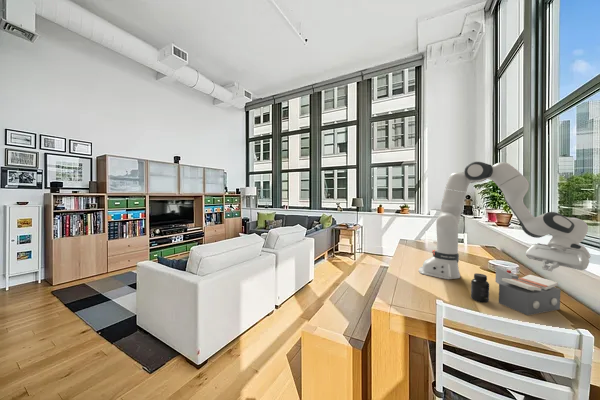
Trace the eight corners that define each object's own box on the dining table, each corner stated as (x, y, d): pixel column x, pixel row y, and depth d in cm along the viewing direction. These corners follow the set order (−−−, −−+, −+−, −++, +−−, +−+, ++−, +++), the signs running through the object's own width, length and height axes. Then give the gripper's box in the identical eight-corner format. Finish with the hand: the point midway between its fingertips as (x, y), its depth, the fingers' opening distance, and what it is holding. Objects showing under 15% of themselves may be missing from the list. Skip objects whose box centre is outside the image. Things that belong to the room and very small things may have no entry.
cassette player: (517, 293, 117) (518, 274, 116) (511, 293, 117) (512, 273, 117) (501, 282, 132) (501, 265, 131) (495, 281, 132) (496, 264, 132)
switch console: (528, 315, 95) (529, 294, 95) (498, 303, 106) (499, 283, 106) (561, 309, 100) (562, 289, 100) (529, 298, 111) (529, 279, 111)
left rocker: (527, 291, 96) (528, 285, 96) (501, 282, 106) (502, 277, 106) (540, 292, 98) (541, 287, 98) (513, 283, 108) (514, 278, 108)
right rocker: (545, 291, 99) (545, 286, 99) (518, 282, 109) (517, 278, 108) (558, 286, 101) (557, 281, 101) (530, 278, 111) (529, 274, 110)
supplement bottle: (467, 296, 113) (467, 272, 112) (480, 296, 113) (480, 272, 113) (479, 303, 106) (479, 277, 105) (492, 302, 106) (493, 277, 106)
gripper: (531, 238, 118) (516, 258, 115) (590, 247, 98) (574, 272, 96) (536, 246, 119) (522, 266, 117) (596, 257, 99) (580, 282, 97)
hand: (546, 269), depth 106 cm, fingers closed
